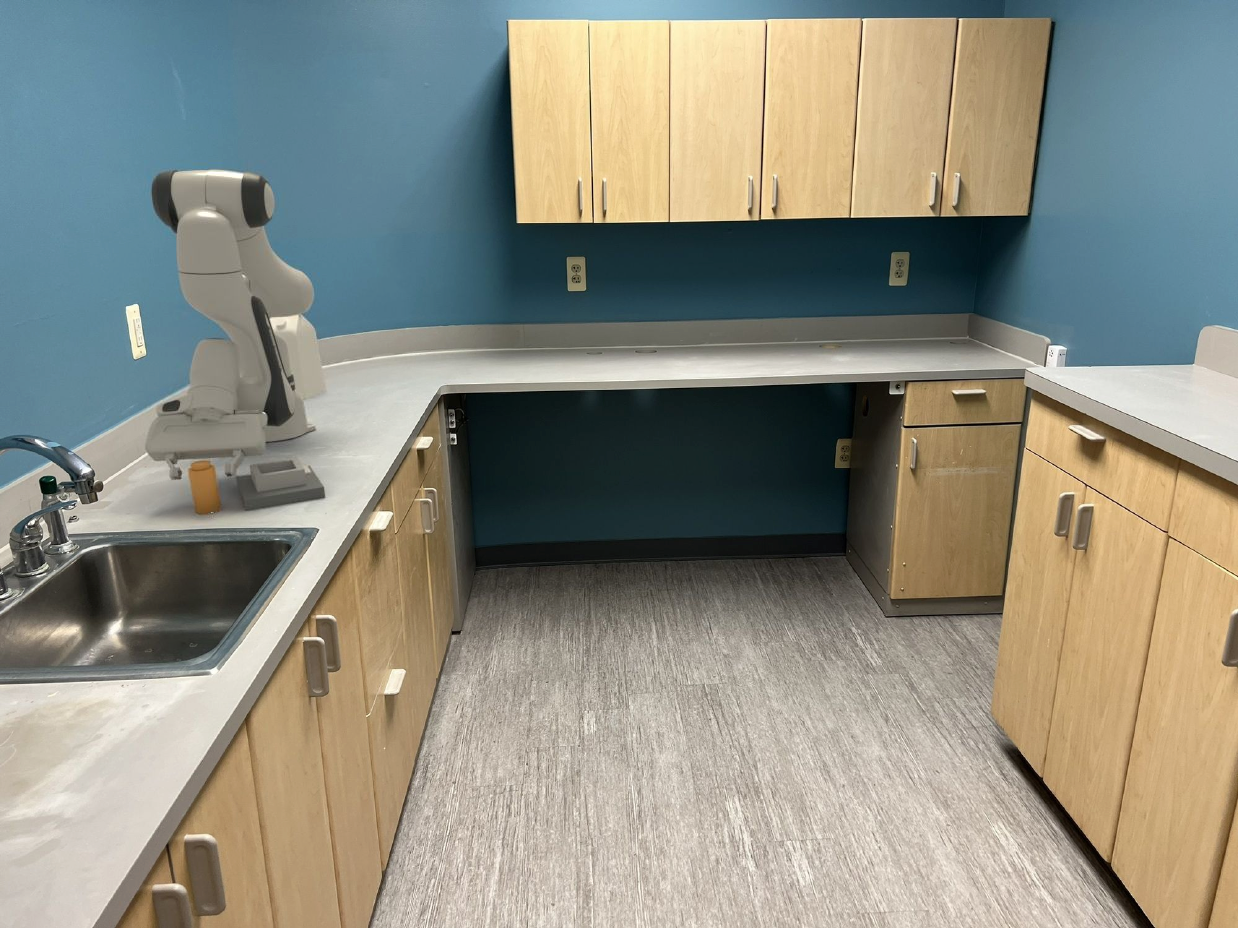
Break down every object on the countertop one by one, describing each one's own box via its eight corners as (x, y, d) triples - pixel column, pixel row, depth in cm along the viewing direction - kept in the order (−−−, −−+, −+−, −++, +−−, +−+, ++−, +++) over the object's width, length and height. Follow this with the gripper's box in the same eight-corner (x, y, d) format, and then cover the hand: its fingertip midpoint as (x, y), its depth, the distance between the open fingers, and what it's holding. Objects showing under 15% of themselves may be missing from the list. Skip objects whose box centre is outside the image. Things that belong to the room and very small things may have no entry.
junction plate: (237, 486, 171) (233, 462, 169) (310, 474, 177) (307, 451, 176) (246, 510, 157) (241, 484, 156) (325, 496, 164) (322, 471, 162)
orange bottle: (194, 508, 159) (186, 462, 156) (220, 504, 161) (212, 458, 158) (196, 515, 155) (187, 468, 152) (222, 511, 157) (214, 464, 154)
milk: (326, 391, 256) (315, 302, 248) (305, 399, 245) (293, 307, 237) (289, 390, 258) (277, 302, 250) (267, 398, 247) (254, 307, 240)
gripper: (272, 417, 167) (267, 481, 160) (160, 423, 164) (150, 488, 157) (263, 400, 161) (257, 464, 155) (147, 405, 158) (136, 471, 152)
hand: (202, 476), depth 156 cm, fingers open, 8 cm apart
